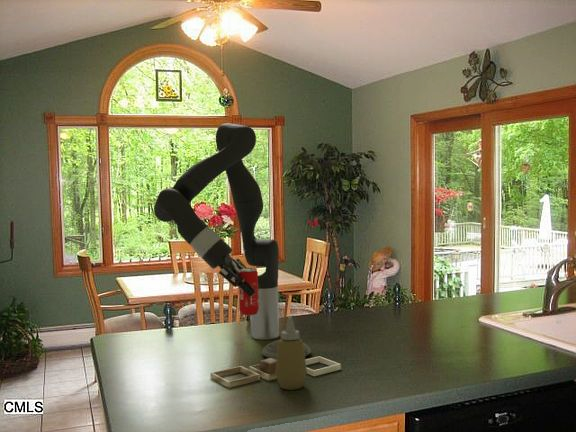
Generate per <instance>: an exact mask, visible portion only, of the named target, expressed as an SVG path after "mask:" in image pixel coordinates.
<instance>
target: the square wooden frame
mask: <svg viewBox="0 0 576 432" xmlns="http://www.w3.org/2000/svg"><path fill="white" fill-rule="evenodd" d="M248 369H249V370H251V371H253V372H255V373H258V374H260V379H263V380H265V381H267V382H270V381H272V380H278V379H277V376H276V373H272V374H267V373H264V372H262V371H260V363H258V364H254V365H249V366H248Z"/></svg>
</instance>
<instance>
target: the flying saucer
mask: <svg viewBox="0 0 576 432" xmlns="http://www.w3.org/2000/svg"><path fill="white" fill-rule="evenodd" d="M280 339H281V338H279V339H276V340H272V341H271V342H269V343H268V344H266V345H265V346H264V347H263V349H262V350H261V354H262V356H264V357H266V358H267V359H268V358H273V359H277V348H278V341H279V340H280ZM303 345H304V353H305V357H307V356H308V355H310V354H311V353H312V350H311V348H310V347H309V346H308V345H307V344H306V343H305V342H303Z"/></svg>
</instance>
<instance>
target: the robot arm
mask: <svg viewBox="0 0 576 432" xmlns="http://www.w3.org/2000/svg"><path fill="white" fill-rule="evenodd" d="M215 144H216V148H217V152H216V153H214V154H212V155H210V156H208V157H206V158H203V159H202V160H199V161H198V162H197V161H196V163H194V164H193V165H191V166H190V167H189V168H188V169H187V170H186V171H184V173H183V174H182V175H181V176H180V177H178V179H177V180H176V182H175V183H174V185H173V186H172V188H170V187H169V188H164V189H162V190H161V191H160V192H159V194H158V196H157V197H156V201H155V203H154V206H153V213H154V216H155V217H156V218H157V219H158V220H159V221H161V222H164V223H169V222H172V221H173V222H174V223H175V225H176V228H177V233H178V234H179V235H180V237H182V239H183V240H184V241H185V242H186V243H188V246H189V245H190V247H191V248H192V249H193V251H194V252H195V253H196V254H197V255H198V256H199V257H200V259H202V260H203V261H204V262H205V263H206V264H207V265H208V266H209V267H210V268H211V269H212V270H215V269H216V268H218V267H219V269H220V270H219V272H218V274H219V275H220V276H221V277H222V278H224V279H225V281H227V282H229V283H230V284H231V285H232V286H233V287H234V288H239V287H240V288H241V289H242V290H243V291H244V292H245V293H246V294H247V295H248V296H249V297H250V296H252V295H253V294H254V293H255V289H254V288H253V287H252V286H251V285H250V284H249V283H247V282H245V279H244V278H243V277H242V276H241V274H242V273H241V271H240V269H244V268H247V266H246V265H245V264H244V263H243V262H242V261H241V260H240V258H236V259H234V258H233V257H232V256H230V255H231V254H232V252H233V248H232V247H231V246H230V245H229V244H228V243H227V242H226V241H225V240H224V239H223V238H222V237H221V235H219V234H218V233H217V232H216V231H214V230H213V229H212V228H211V227H209V226H208V224H207V223H206V222H205V221H204V220H202V218H200V217H199V216H198V215H197V213H196V211H195V210H194V208H193V207H192V206H191V204H190V203H191V202H192V201H193V200H194V199H195V197H197V196H198V195H199V194H201V192H202V191H203V190H204V189H206V187H208V186H209V184H211V182H213V181H214V180H215V179H216V178H218V177H219V176H220V175H221V174H222V173H224V172H225V174H226V177H227V178H226V179H227V181H228V184H229V188H230V192H231V193H230V194H231V197H232V201H233V206H234V209H235V213H236V216H237V219H238V224H239V228H240V233H241V240H242V247H243V252H244V257H245V261H246V263H247V264H248V265H249V266H251V267H265V270H264V272H263V273H261V274H258V301H259V310H258V312H257V314H256V315H249V318H250V335H251V338H253V339H255V340H264V341H265V340H273V339H277V338H278V337H279V336H280V330H279V329H280V327H279V325H280V322H279V315H280V314H279V313H280V312H279V286H278V285H279V283H278V281H279V257H280V252H279V250H280V249H279V244H278V242H277V241H276V239H271V238H270V239H269V238H268V239H267V238H256V235H255V228H256V226H257V222H258V221H259V219H260V217H261V215H262V212H263V211H264V210H263V209H264V200H263V197H262V191H261V188H260V186H259V184H258V182H257V180H256V179H255V177H254V176H253V175H252V174H251V173H250V171H249V169H248V167H247V166H246V165H245V164H244V162H243V159H244V158H246V157H247V156H248V155H250V154H251V152H252V151H254V148H255V146H256V144H257V135H256V131H255V130H254V129H253V128H252V127H250V126H247V125H243V124H237V123H223V124H220V125H219V126H218V128H217V129H216V132H215Z"/></svg>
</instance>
